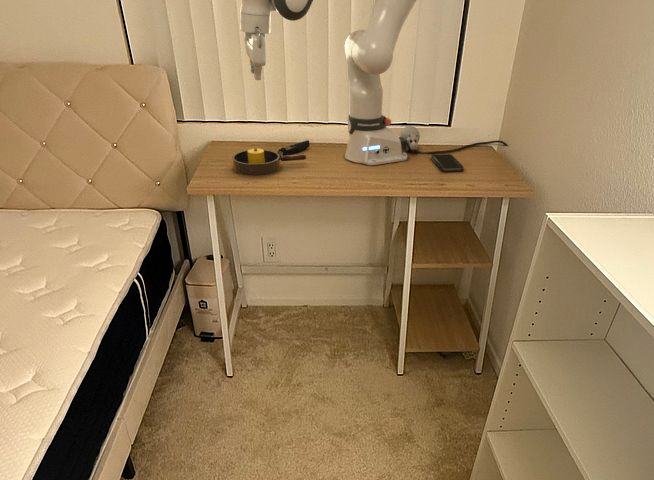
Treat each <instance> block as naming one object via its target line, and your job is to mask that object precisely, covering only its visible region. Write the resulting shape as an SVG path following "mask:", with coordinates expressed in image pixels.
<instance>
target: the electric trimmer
mask: <svg viewBox="0 0 654 480" xmlns="http://www.w3.org/2000/svg"><path fill="white" fill-rule="evenodd" d="M309 147H310V140H309V139H306V140H304V141H300V142H298V143H293V144H292V145H291V144H290V145H289V146H286V147H281V148H280V149H278V151H277V152H276V153H278V154H279V156H280V157H281V156H286V155H293V154H295V153H300V152H303V151H305V150H306V149H308V148H309Z"/></svg>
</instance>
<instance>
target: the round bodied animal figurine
mask: <svg viewBox="0 0 654 480" xmlns="http://www.w3.org/2000/svg"><path fill="white" fill-rule="evenodd" d="M399 137H402V138H404V139H405V140H406V141H407V144H408V145H407V146H406V149H403V150H404V151H405V152H406V153H407V152H409V150H410V152H413V153H415V152H414V151H413V150H416V151H418V144H419V141H420V138H421V134H420V131H419V130H418V128H416V127H415V126H412V125H409V126H405V127H404V128H403V129H402V130H401V131H400V134H399Z"/></svg>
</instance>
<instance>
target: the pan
mask: <svg viewBox="0 0 654 480" xmlns="http://www.w3.org/2000/svg"><path fill="white" fill-rule="evenodd" d="M248 150H249V149H247V150H246V149H245V150H242V151H238V152H236V153H235V154H233V156H232V157H231V158H232V166H233V171H234V172H235V173H237V174H239V175H243V176H249V177H262V176H268V175H272V174H275V173H277V172H279V171H280V170H281V160H280V156H279V154H278V153H277V152H276V151H274V150H269V149H263V150H264V158H265V163H261V164H249V162H248Z"/></svg>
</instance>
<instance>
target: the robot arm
mask: <svg viewBox="0 0 654 480" xmlns="http://www.w3.org/2000/svg"><path fill="white" fill-rule="evenodd" d="M313 2H314V0H240V8H239V25H240V26H239V27H240V29H239V30H240V31H241V32H243V37H244V46H245V52H246V53H245V54H247V56H248V59H249V64H250V72H251V74H253V75H254V80H255V81H261V80H262V72H263V71H262V69H263V67H264V66H265V67H266V64H267V63H266V62H267V51H266V49H267V48H266V40H267V35H268V34H271V18H272V17H271V16H272V15H271V13H272V12H273V11H275V12H277V13H278V14H279V15H280V16H281V17H282V18H284V19H285V20H288V21H292V22H293V21H298V20H301V19H303V18H304V17H305V16H306V15H307V13H308V12H309V10H310V9H311V6H312V4H313ZM416 2H417V0H374V1H373V3H372V6H371V13H370V17H369V20H368V23H367V25H366V28H365V29H357V30H354V31H353V32H351V33H350V34H349V35H348V36H347V38H346V40H345V42H344V52H345V57H346V66H347V67H346V68H347V77H348V84H349V114H348V119H347V132H348V139H347V144H346V149H345V153H344V158H345V159H346V160H347V161H350V162H352V163H353V162H354V163H358V164H363V165H367V166H376V165H383V164H384V165H385V164H392V163H397V162H404V161H407V160H408V153H407V151H406V152H405V151H404V150H403V149H406V146H407V145H408V144H407V141H406V140H405V139H404V138H402V137H400V136H398V135H397V134H396V133H395V132H393V130H391V129H390V128H389V127H387V126H390V125H391V124H392V119H390V117H386V116H385V115H383V100H384V99H383V98H384V96H383V95H384V90H383V86H382V81H381V80H382V79H381V75H382V74H384V73H385V72H387V71H388V70H389V69H390V67H391V65H392V62H393V57H394V50H395V48H396V44H397V42H398V39H399V36H400V34H401V30H402V29H403V26H404V24H405V22H406V20H407V18H408V16H409V15H410V13H411V11H412V9H413V7H414V6H415V4H416ZM496 143H500V144H503V145H504V146H506V147H509V146H508V143H506V142H505V141H503V140H499V139H498V140H490V141H480V142H475V143H470V144H466V145H464V146H461V147H458V148H457V147H456V148H453V149H447V150H435V151H426V152H425V151H424V152H422V151H418V150H417V151H416V150H413V151H414V152H413V153H416V154H421V155H435V154H448V153H453V152H457V151H462V150H464V149H467V148H470V147H474V146H479V145H489V144H496Z"/></svg>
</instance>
